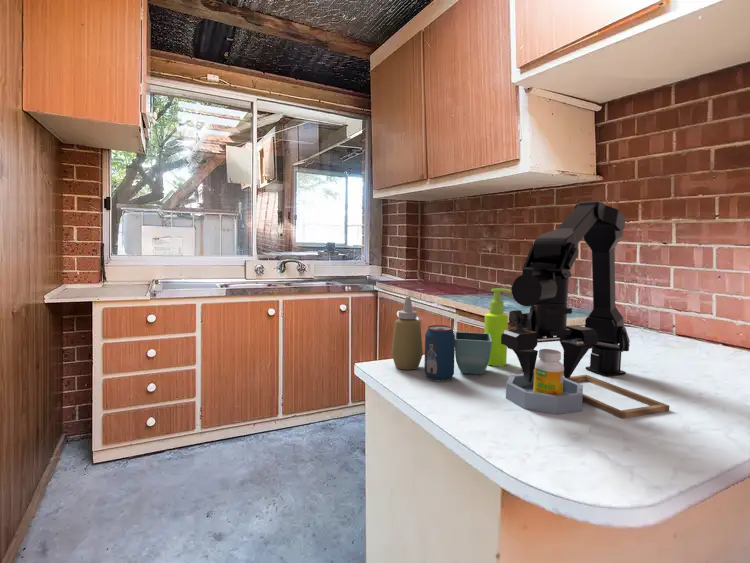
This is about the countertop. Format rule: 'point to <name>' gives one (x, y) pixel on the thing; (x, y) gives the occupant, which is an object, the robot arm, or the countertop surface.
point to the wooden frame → (654, 404)
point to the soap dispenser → (497, 328)
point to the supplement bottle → (549, 373)
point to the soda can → (439, 353)
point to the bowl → (544, 396)
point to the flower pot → (472, 351)
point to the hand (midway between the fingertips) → (547, 379)
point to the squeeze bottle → (407, 339)
